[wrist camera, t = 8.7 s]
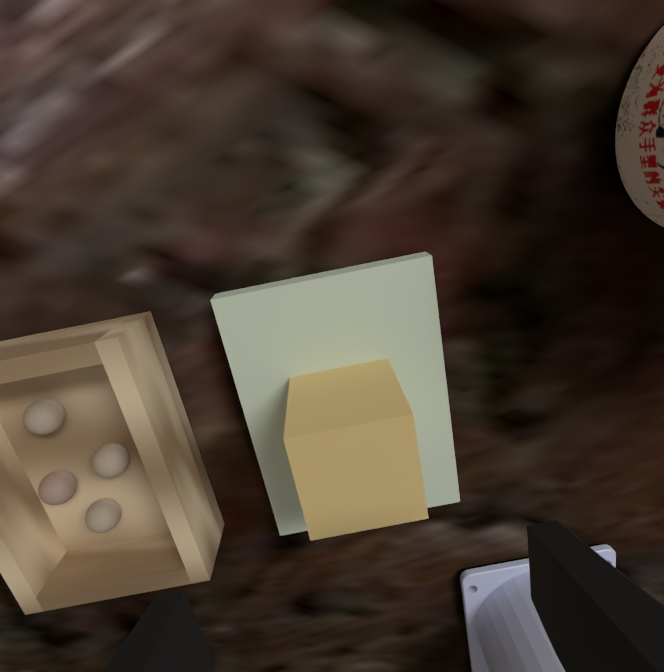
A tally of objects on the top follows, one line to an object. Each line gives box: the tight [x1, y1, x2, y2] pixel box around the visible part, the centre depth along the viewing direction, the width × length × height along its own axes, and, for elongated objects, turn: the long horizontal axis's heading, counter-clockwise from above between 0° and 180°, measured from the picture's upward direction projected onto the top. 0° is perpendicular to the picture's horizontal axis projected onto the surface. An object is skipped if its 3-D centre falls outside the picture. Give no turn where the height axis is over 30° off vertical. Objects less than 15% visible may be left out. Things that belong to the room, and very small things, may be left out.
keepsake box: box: [0, 311, 224, 615], centre depth 18 cm, size 11×8×3 cm
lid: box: [210, 252, 460, 541], centre depth 17 cm, size 11×8×6 cm
